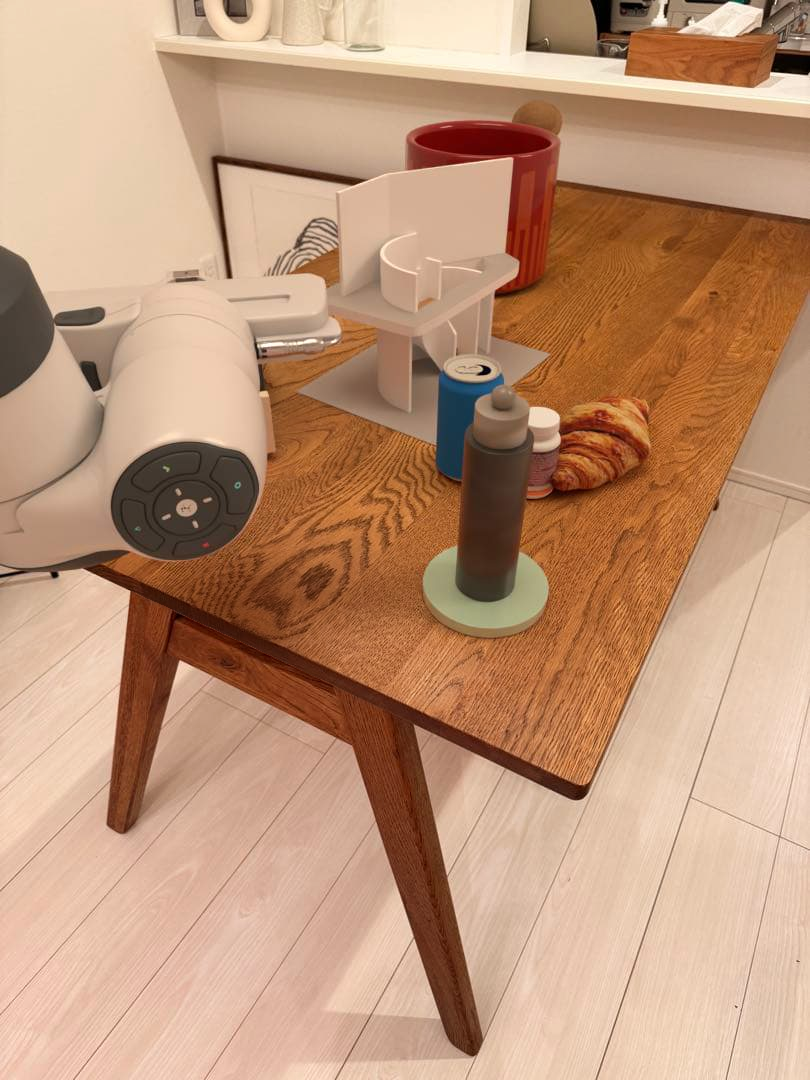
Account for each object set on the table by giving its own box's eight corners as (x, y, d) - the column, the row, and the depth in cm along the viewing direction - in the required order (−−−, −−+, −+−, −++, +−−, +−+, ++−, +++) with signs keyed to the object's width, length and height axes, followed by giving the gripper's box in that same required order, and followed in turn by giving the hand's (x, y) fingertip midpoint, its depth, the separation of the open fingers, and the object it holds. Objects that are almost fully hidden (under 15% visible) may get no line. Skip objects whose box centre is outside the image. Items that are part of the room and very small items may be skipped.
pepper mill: (467, 607, 64) (483, 409, 52) (447, 567, 68) (458, 374, 56) (524, 595, 65) (553, 398, 53) (501, 557, 69) (523, 365, 57)
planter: (453, 239, 138) (459, 113, 125) (568, 267, 128) (588, 133, 115) (376, 277, 124) (373, 140, 111) (499, 312, 113) (512, 165, 100)
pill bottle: (561, 483, 80) (572, 413, 75) (539, 505, 77) (550, 434, 72) (521, 468, 82) (529, 399, 77) (499, 489, 79) (506, 419, 74)
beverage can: (497, 486, 80) (508, 383, 72) (435, 485, 80) (439, 382, 72) (493, 452, 85) (502, 352, 77) (434, 451, 85) (438, 351, 77)
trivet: (446, 650, 62) (446, 640, 61) (407, 564, 70) (407, 554, 69) (568, 622, 65) (570, 612, 64) (517, 542, 73) (518, 532, 72)
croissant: (610, 434, 94) (592, 373, 91) (690, 423, 87) (673, 357, 84) (527, 517, 80) (503, 449, 78) (614, 512, 74) (591, 437, 71)
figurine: (551, 213, 150) (565, 97, 137) (549, 224, 144) (564, 105, 132) (505, 210, 151) (515, 95, 138) (502, 221, 146) (512, 103, 133)
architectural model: (436, 446, 85) (445, 232, 70) (295, 391, 95) (275, 192, 80) (551, 354, 103) (577, 166, 88) (422, 315, 112) (426, 140, 97)
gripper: (345, 301, 49) (318, 230, 59) (5, 327, 45) (39, 247, 56) (348, 389, 53) (323, 308, 63) (37, 419, 50) (63, 328, 60)
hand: (188, 279), depth 59 cm, fingers closed
